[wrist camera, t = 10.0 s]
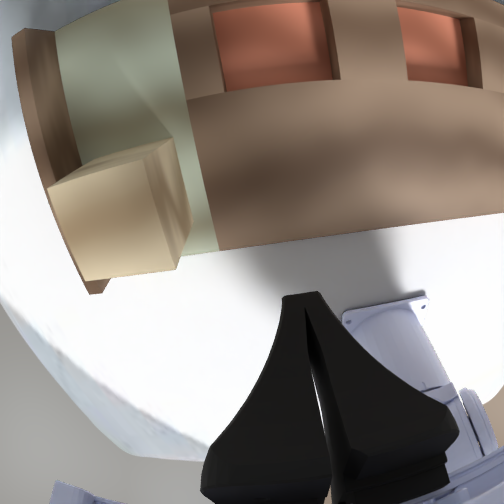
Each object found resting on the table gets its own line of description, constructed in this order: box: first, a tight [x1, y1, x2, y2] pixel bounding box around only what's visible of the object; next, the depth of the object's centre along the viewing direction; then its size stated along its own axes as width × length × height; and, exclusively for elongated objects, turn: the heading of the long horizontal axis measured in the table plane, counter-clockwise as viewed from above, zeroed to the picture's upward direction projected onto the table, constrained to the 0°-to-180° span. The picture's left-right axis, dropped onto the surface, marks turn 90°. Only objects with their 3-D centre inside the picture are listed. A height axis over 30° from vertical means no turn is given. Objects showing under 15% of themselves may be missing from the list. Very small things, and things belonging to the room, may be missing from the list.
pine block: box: [47, 137, 194, 281], centre depth 14 cm, size 5×5×5 cm
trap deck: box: [12, 0, 504, 295], centre depth 13 cm, size 16×37×5 cm, turn 99°
